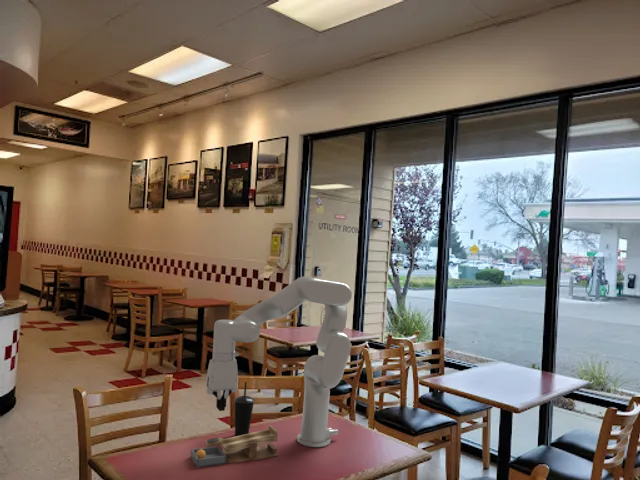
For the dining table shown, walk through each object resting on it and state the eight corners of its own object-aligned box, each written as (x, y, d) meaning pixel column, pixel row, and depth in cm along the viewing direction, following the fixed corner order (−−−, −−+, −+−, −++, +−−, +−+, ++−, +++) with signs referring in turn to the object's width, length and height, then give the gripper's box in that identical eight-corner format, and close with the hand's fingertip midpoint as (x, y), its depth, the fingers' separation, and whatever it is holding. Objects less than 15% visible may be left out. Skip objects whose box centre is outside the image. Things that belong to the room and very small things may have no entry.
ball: (200, 445, 161) (192, 453, 160) (202, 449, 158) (194, 457, 157) (206, 452, 162) (198, 459, 161) (208, 456, 159) (200, 463, 158)
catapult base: (269, 446, 175) (270, 431, 175) (278, 456, 168) (279, 439, 168) (219, 453, 167) (220, 436, 167) (226, 463, 159) (227, 446, 160)
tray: (218, 453, 167) (219, 446, 167) (225, 463, 159) (226, 456, 159) (190, 457, 162) (191, 449, 162) (196, 467, 155) (197, 459, 155)
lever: (266, 429, 178) (266, 421, 178) (277, 440, 169) (277, 431, 169) (205, 443, 168) (205, 434, 168) (213, 455, 159) (213, 445, 159)
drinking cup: (247, 441, 179) (252, 386, 179) (228, 438, 180) (232, 383, 181) (254, 434, 186) (258, 381, 187) (235, 431, 188) (239, 378, 188)
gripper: (241, 352, 176) (238, 404, 176) (199, 355, 169) (196, 408, 169) (248, 357, 169) (245, 410, 169) (204, 360, 162) (202, 415, 162)
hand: (221, 409), depth 169 cm, fingers closed
